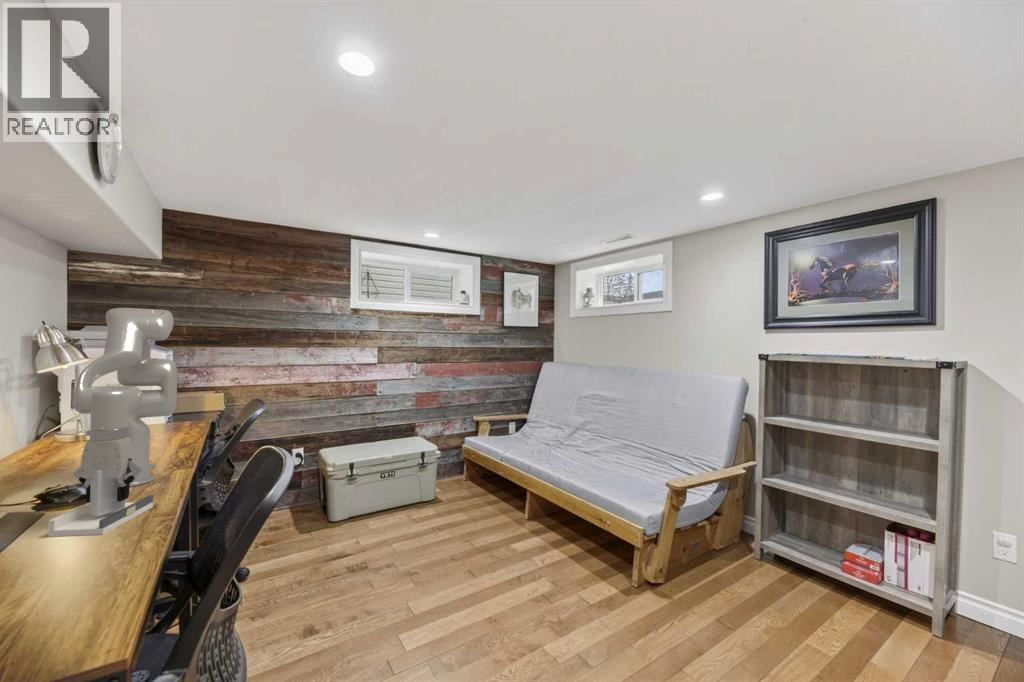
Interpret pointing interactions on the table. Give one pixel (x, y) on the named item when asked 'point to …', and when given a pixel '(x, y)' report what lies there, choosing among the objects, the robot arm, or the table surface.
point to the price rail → (125, 511)
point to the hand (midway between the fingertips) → (107, 499)
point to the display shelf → (86, 522)
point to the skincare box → (104, 495)
